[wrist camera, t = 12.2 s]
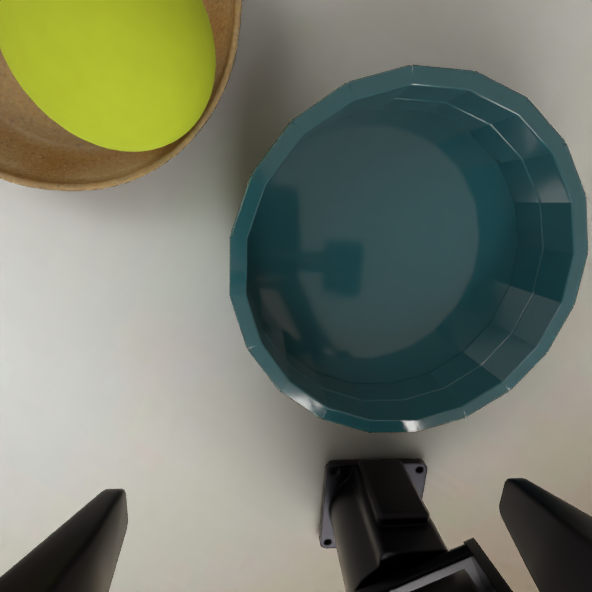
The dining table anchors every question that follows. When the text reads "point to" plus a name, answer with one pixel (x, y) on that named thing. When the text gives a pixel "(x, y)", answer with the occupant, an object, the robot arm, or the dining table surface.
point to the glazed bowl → (408, 249)
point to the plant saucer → (82, 154)
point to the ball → (113, 66)
